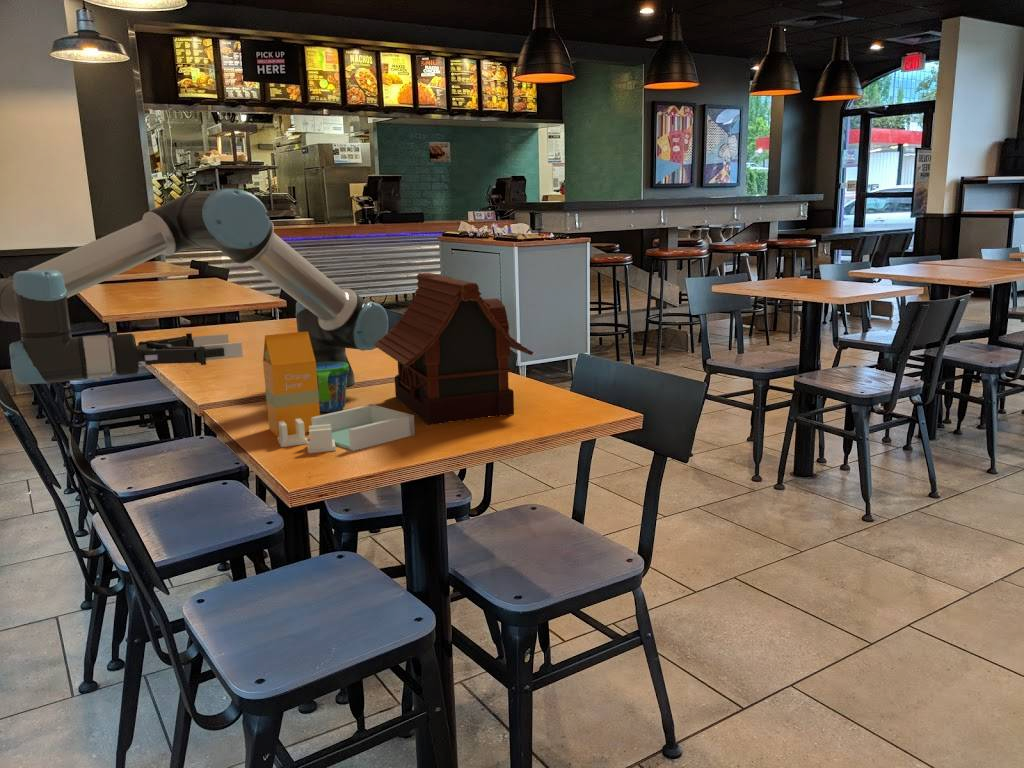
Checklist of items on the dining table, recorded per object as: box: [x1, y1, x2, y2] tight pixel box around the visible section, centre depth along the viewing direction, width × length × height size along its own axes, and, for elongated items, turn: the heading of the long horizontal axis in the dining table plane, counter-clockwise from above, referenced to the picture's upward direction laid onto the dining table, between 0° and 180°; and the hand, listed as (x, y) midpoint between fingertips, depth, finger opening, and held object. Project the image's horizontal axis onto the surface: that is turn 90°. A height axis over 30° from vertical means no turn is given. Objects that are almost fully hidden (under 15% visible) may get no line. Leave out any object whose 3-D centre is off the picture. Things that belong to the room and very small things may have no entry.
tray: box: [311, 403, 416, 452], centre depth 153 cm, size 14×14×4 cm
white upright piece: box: [307, 424, 337, 454], centre depth 145 cm, size 5×5×4 cm
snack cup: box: [316, 362, 349, 413], centre depth 175 cm, size 16×10×10 cm
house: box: [374, 272, 534, 426], centre depth 175 cm, size 35×28×29 cm
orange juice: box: [262, 331, 321, 437], centre depth 157 cm, size 8×9×20 cm
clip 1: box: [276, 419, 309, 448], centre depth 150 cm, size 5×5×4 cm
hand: (235, 345), depth 150 cm, fingers open, 13 cm apart
